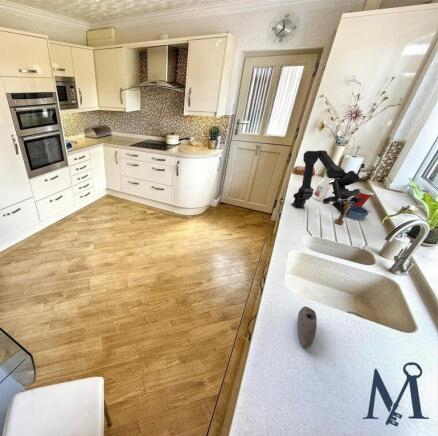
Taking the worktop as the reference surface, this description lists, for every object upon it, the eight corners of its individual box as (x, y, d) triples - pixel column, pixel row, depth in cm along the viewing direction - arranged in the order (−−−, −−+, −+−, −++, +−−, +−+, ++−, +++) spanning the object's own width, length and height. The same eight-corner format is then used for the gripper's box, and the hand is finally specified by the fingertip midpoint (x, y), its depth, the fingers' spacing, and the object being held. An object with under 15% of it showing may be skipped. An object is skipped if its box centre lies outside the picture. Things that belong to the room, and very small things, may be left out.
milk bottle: (323, 197, 185) (334, 173, 174) (324, 201, 178) (336, 176, 168) (311, 195, 187) (322, 172, 177) (313, 199, 181) (324, 174, 171)
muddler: (338, 225, 134) (349, 205, 127) (331, 221, 137) (342, 201, 131) (344, 225, 134) (355, 205, 128) (338, 221, 138) (348, 201, 131)
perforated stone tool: (310, 356, 74) (319, 344, 71) (292, 347, 76) (300, 334, 73) (311, 322, 85) (319, 309, 82) (295, 315, 88) (302, 302, 84)
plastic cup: (369, 209, 169) (378, 194, 163) (352, 207, 171) (360, 192, 165) (360, 203, 178) (368, 188, 172) (345, 201, 180) (352, 187, 174)
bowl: (349, 220, 154) (353, 213, 152) (334, 210, 167) (337, 203, 164) (370, 220, 155) (374, 214, 152) (354, 210, 167) (357, 204, 164)
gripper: (335, 183, 127) (342, 210, 123) (368, 183, 128) (375, 210, 124) (320, 190, 138) (325, 216, 134) (349, 191, 139) (355, 216, 135)
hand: (345, 214), depth 131 cm, fingers closed on muddler, 2 cm apart
